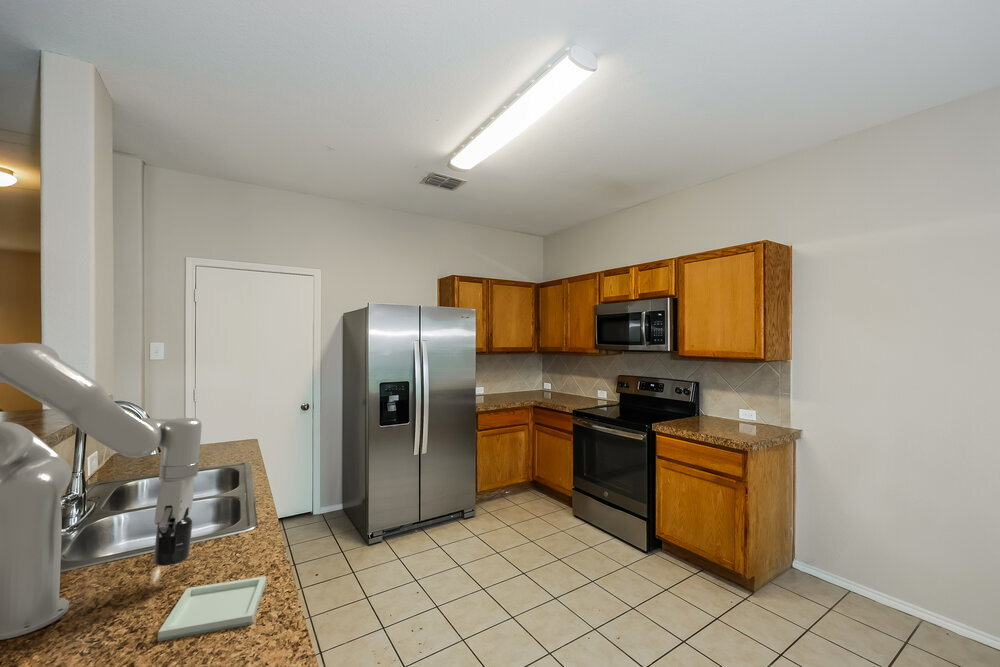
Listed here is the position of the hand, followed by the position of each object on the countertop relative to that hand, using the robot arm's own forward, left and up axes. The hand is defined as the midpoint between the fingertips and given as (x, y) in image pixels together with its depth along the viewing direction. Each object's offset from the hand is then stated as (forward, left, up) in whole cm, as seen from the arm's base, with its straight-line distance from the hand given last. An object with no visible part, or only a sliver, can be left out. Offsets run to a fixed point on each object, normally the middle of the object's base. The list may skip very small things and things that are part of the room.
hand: (173, 545), depth 103 cm
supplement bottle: (0, 0, -3) cm, 3 cm away
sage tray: (+13, -15, -9) cm, 22 cm away
